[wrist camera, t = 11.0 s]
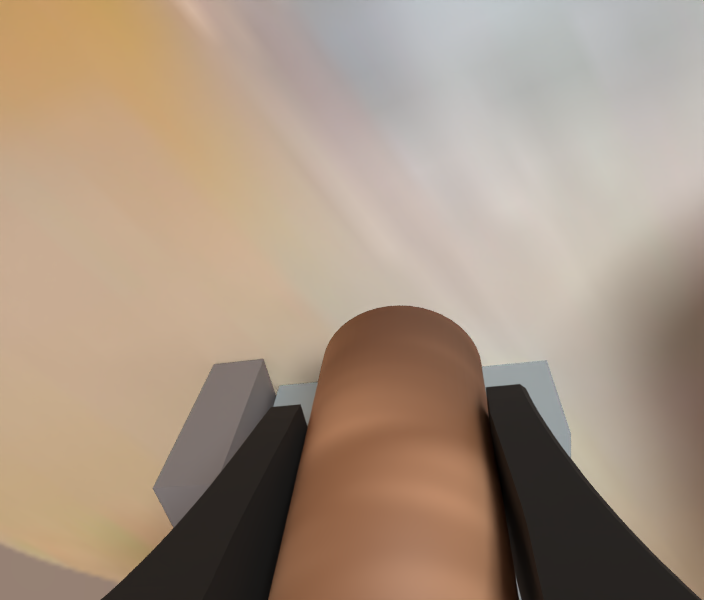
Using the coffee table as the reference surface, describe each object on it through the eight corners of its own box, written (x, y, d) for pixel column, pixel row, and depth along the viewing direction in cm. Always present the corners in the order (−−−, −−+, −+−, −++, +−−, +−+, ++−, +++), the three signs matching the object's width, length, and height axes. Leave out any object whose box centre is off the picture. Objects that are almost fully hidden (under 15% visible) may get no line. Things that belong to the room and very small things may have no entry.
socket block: (544, 355, 21) (571, 433, 17) (550, 534, 26) (571, 623, 22) (280, 380, 23) (257, 456, 19) (333, 544, 27) (322, 628, 24)
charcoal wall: (263, 359, 22) (216, 483, 17) (331, 559, 28) (312, 697, 22) (213, 364, 22) (152, 488, 17) (291, 561, 28) (263, 698, 23)
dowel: (474, 296, 12) (536, 661, 6) (488, 425, 13) (547, 810, 7) (306, 316, 12) (202, 662, 6) (340, 437, 14) (284, 800, 8)
